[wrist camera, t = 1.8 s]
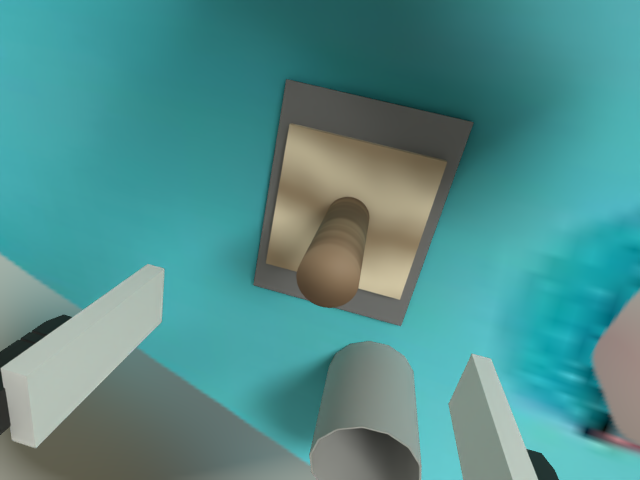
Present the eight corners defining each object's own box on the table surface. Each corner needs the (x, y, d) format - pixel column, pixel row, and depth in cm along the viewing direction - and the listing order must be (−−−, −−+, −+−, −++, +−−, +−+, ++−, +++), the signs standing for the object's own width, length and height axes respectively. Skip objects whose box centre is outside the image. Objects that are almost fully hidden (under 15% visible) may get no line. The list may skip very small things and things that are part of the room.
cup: (322, 397, 39) (302, 490, 30) (335, 333, 36) (316, 415, 27) (403, 417, 38) (407, 519, 29) (423, 353, 35) (435, 444, 26)
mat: (288, 79, 29) (286, 79, 28) (472, 121, 27) (473, 122, 27) (255, 282, 36) (253, 285, 35) (400, 322, 34) (400, 326, 34)
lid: (292, 123, 29) (234, 141, 18) (445, 160, 28) (480, 202, 17) (268, 259, 34) (211, 338, 23) (399, 295, 33) (404, 394, 22)
